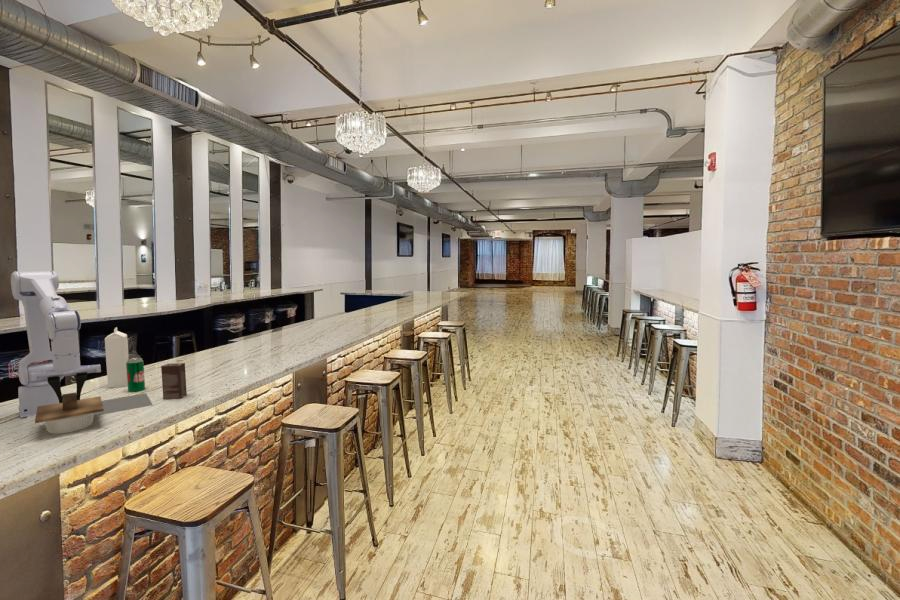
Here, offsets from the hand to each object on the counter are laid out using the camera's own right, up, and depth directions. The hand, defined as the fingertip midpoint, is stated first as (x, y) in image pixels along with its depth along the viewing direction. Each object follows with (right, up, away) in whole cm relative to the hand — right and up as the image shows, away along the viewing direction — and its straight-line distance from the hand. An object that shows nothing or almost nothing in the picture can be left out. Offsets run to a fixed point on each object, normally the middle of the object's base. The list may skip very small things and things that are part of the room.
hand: (69, 400), depth 122 cm
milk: (-18, -4, +41) cm, 45 cm away
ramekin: (0, -8, 0) cm, 8 cm away
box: (+13, -6, +27) cm, 30 cm away
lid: (0, -3, 0) cm, 3 cm away
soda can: (-6, -5, +34) cm, 35 cm away
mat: (0, -6, +19) cm, 20 cm away
